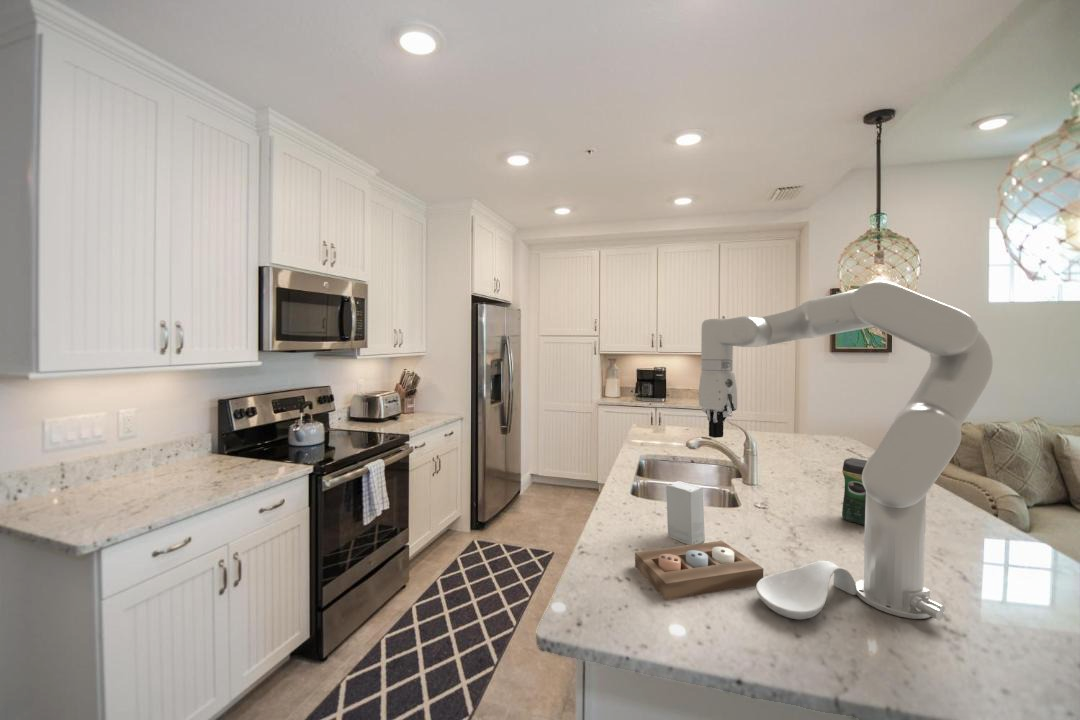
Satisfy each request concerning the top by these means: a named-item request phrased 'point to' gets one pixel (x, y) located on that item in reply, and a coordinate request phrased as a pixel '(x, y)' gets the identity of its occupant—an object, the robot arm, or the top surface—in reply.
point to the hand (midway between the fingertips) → (716, 436)
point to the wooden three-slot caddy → (697, 571)
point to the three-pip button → (669, 562)
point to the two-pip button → (696, 558)
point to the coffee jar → (854, 491)
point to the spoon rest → (803, 589)
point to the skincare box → (685, 512)
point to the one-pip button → (722, 555)
